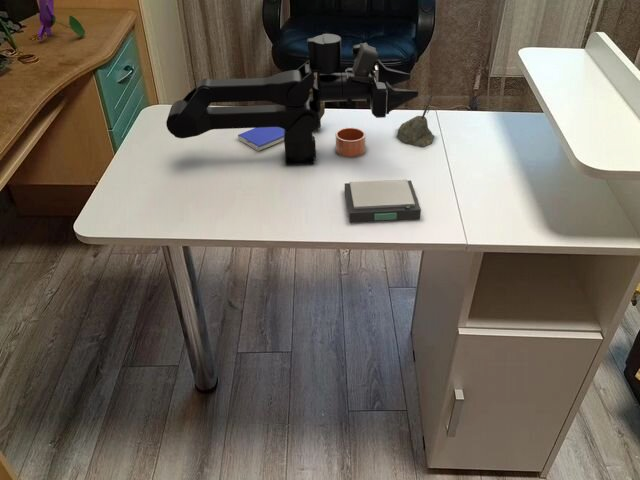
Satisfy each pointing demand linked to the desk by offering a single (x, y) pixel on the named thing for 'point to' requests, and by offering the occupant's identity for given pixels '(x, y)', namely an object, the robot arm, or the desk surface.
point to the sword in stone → (416, 130)
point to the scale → (381, 201)
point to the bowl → (350, 142)
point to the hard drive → (262, 137)
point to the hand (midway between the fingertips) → (413, 84)
